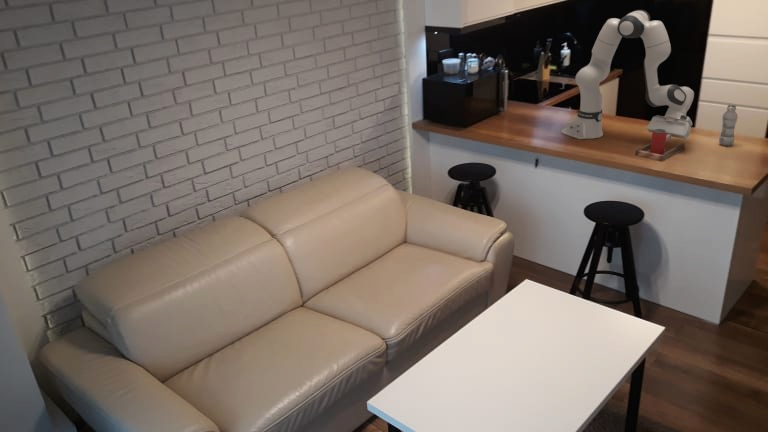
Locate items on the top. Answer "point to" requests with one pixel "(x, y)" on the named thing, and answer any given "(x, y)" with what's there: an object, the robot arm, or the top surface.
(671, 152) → the walnut channel
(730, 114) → the plastic bottle
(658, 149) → the beer can
